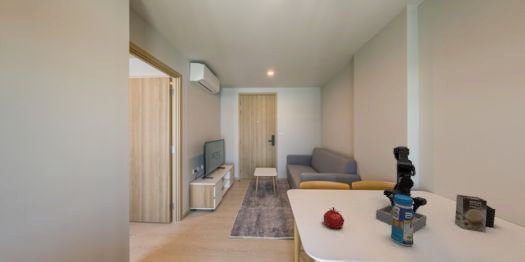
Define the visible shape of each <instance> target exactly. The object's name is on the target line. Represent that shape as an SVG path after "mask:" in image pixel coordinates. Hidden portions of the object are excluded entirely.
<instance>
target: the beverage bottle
mask: <svg viewBox="0 0 525 262" xmlns="http://www.w3.org/2000/svg"><path fill="white" fill-rule="evenodd" d="M411 197H412V196H410V197H408V196H404V195H395V196H394V203H395V205H394V206H393V207H392V214H391V217H392V225H391V230H390V231H391V232H390V239H391V240H392V241H393V242H395V243H397V245H402V246H406V247H411V246H413V245H414V233H413V230H414V223H415V220H414V218H413V217H414V211H413V203H414V202H413V199H412V198H411Z"/></svg>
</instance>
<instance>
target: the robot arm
mask: <svg viewBox="0 0 525 262" xmlns="http://www.w3.org/2000/svg"><path fill="white" fill-rule="evenodd" d="M392 155H394V156H393V157H394V159H395V161H396V166H395V168H396V183H395V185H394V186H393V189H391V188H388V189H384V190H383V195H384V196H385V197H386V198H388V199H389V202H390V203H391V204H390V205H392V207H393V206H394V205H395V203H394V196H395V195H404V196H408V197H411V198H412V199H413V206H412V210H413V211H414V214H415V213H417V211H418V209H419V208H420V207H424V206H425V205H427V204H428V200H427V198H424V197H420V196H416V197H413V196H412V193H411V189H412V188H413V187H414V186H415V182H414V181H413V179H412V177H415V176H416V174H417V173H416V167H415V164H413V162H412V160H410V159H409V156H410V148H408V146H403V145H401V146H400V145H399V146H395V147H393V149H392Z"/></svg>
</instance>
